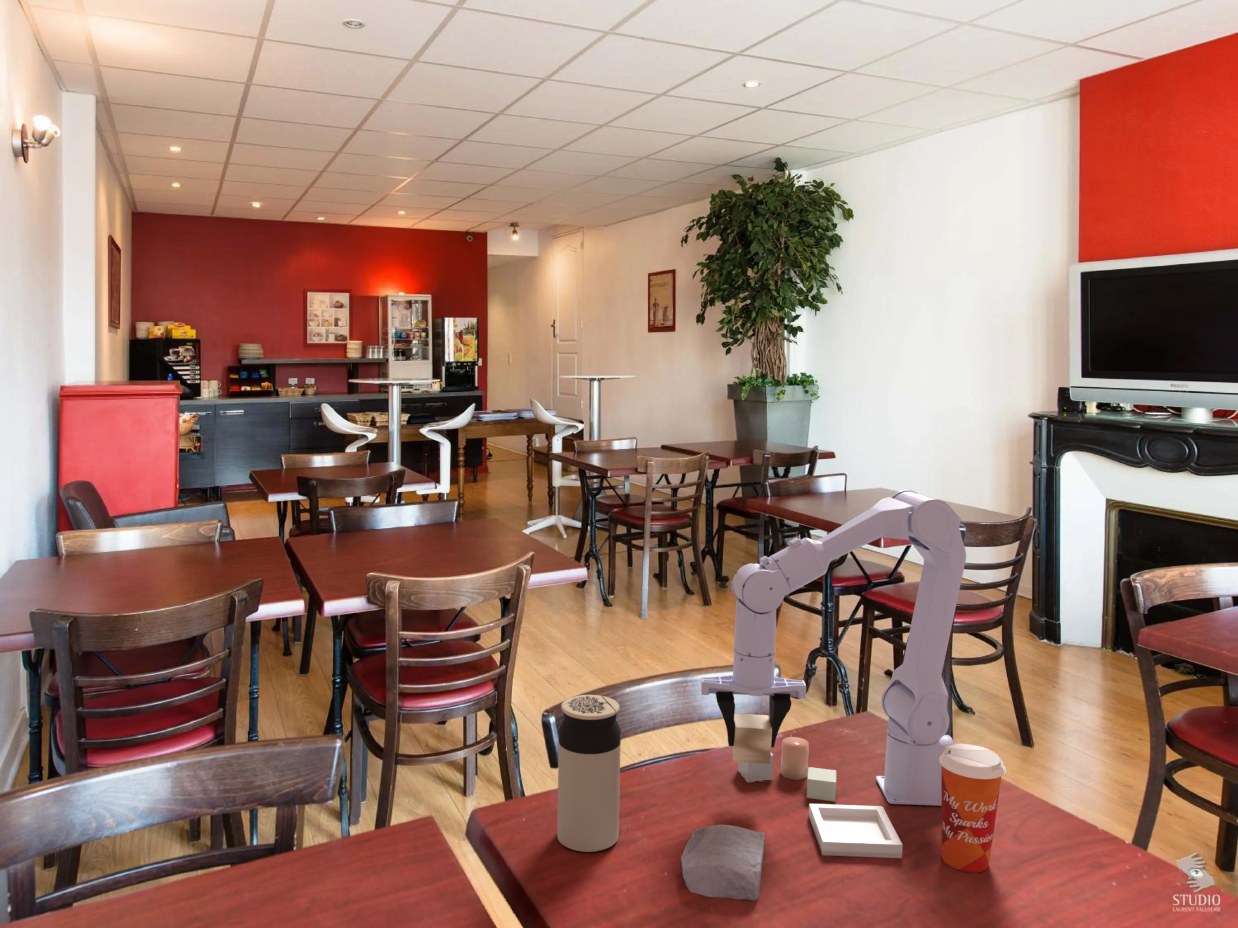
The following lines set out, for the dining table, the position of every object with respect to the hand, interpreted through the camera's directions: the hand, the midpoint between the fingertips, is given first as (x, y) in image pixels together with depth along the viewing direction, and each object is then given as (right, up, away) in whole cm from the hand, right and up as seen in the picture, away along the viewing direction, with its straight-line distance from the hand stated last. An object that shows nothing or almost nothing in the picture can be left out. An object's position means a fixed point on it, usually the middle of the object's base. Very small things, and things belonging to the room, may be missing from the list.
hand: (750, 743), depth 129 cm
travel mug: (-23, -9, -10) cm, 27 cm away
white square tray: (+12, -10, -8) cm, 18 cm away
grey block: (+2, -8, +9) cm, 12 cm away
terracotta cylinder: (+8, -8, +10) cm, 15 cm away
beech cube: (0, -2, 0) cm, 2 cm away
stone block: (-6, -11, -17) cm, 21 cm away
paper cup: (+25, -11, -14) cm, 31 cm away
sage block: (+11, -8, +4) cm, 14 cm away
